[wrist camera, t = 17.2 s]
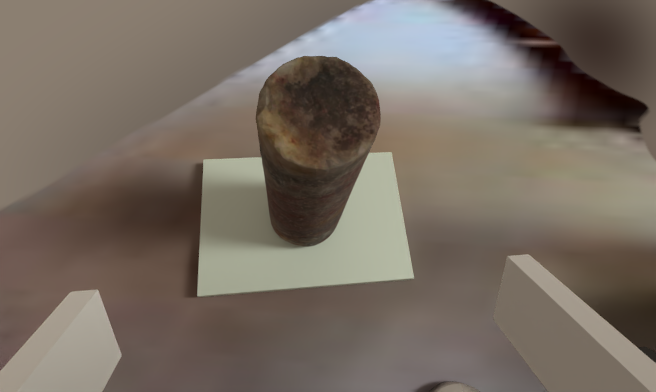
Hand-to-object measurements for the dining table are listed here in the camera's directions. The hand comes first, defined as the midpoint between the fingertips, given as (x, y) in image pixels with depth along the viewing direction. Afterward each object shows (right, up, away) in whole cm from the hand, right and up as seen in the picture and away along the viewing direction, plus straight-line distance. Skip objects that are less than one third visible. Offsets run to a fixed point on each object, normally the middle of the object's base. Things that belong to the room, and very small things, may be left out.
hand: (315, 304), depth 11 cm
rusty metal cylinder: (-2, +1, +26) cm, 26 cm away
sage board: (-2, +1, +27) cm, 27 cm away
